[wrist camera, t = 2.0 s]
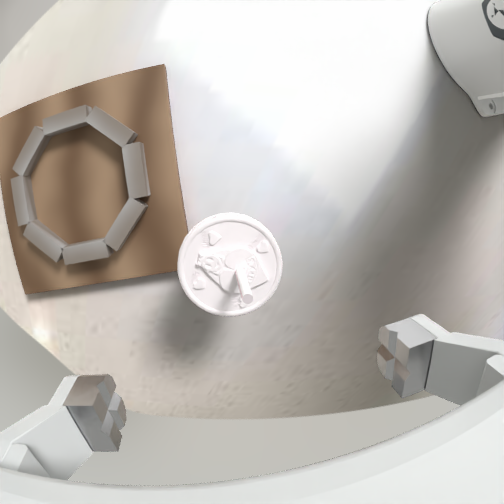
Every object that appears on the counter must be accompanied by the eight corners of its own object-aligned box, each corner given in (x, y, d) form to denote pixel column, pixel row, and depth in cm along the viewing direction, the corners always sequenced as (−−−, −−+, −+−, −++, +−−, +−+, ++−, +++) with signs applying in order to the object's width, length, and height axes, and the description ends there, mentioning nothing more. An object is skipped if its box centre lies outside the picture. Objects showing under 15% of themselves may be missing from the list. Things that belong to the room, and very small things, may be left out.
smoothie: (246, 280, 29) (276, 365, 16) (178, 260, 28) (153, 336, 15) (269, 213, 28) (323, 250, 15) (199, 191, 27) (188, 208, 13)
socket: (166, 68, 24) (161, 58, 21) (194, 264, 28) (192, 273, 26) (2, 120, 22) (-13, 117, 19) (30, 290, 27) (18, 299, 24)
